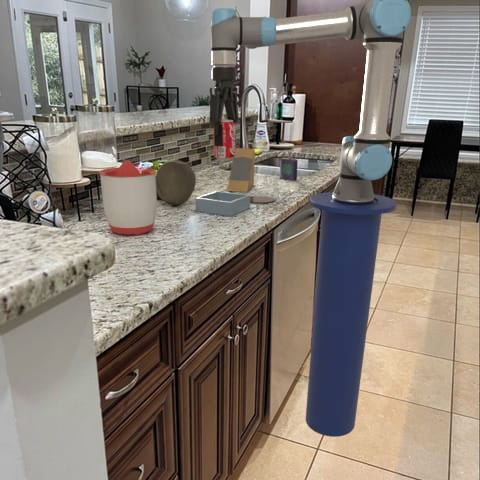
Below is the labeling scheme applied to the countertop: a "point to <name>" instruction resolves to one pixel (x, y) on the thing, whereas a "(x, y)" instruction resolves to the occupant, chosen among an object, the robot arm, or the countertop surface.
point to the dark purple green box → (288, 168)
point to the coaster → (261, 199)
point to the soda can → (226, 142)
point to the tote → (222, 203)
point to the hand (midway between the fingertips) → (224, 144)
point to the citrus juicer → (129, 198)
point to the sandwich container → (242, 170)
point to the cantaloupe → (175, 182)
